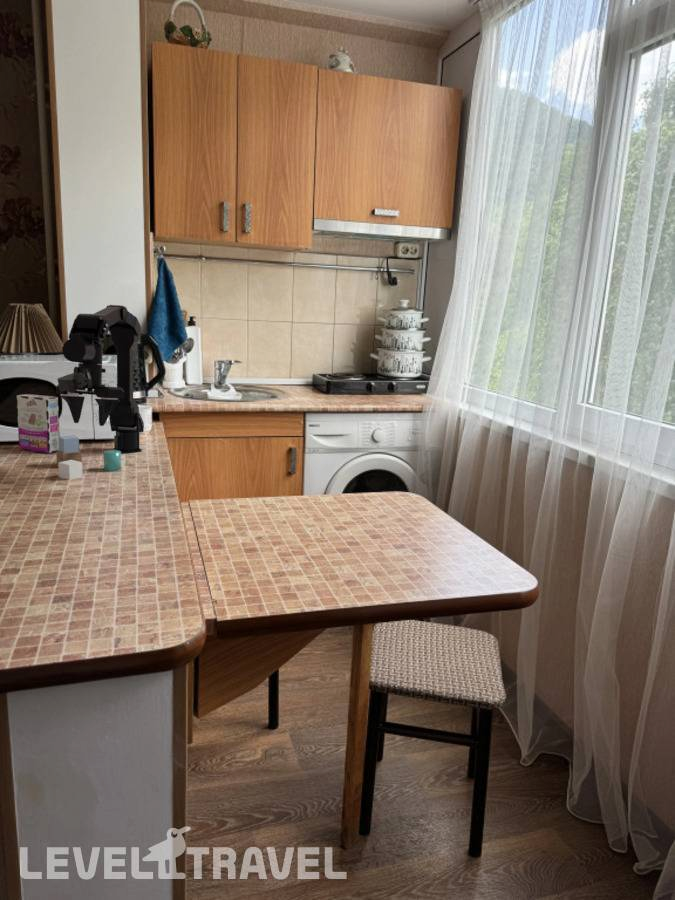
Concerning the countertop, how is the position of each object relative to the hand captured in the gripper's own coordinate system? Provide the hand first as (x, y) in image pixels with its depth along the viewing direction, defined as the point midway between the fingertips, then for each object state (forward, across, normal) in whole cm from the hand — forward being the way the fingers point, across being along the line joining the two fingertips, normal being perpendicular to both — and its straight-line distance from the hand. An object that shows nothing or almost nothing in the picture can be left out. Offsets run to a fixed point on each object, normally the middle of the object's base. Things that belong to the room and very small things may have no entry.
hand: (88, 424), depth 166 cm
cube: (+14, -3, -3) cm, 14 cm away
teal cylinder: (+13, 0, +9) cm, 15 cm away
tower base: (+12, -13, +5) cm, 18 cm away
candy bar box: (+11, -33, +11) cm, 36 cm away
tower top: (+8, -12, +4) cm, 16 cm away
